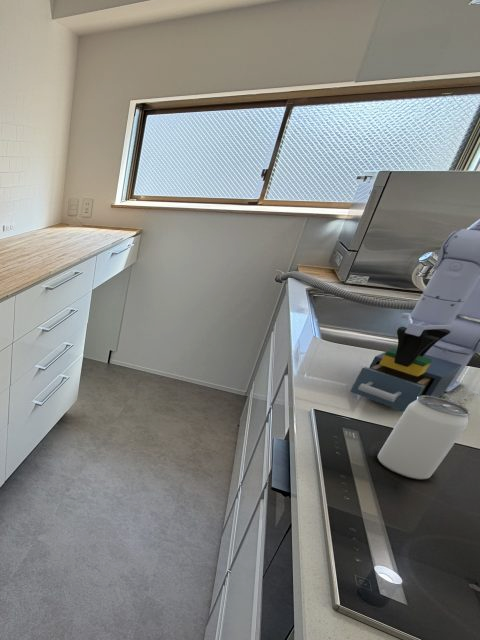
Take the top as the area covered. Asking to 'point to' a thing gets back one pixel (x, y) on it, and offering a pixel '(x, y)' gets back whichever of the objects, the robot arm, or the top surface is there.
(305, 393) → the top surface
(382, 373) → the drawer
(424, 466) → the can
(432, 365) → the cabinet
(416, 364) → the sponge
